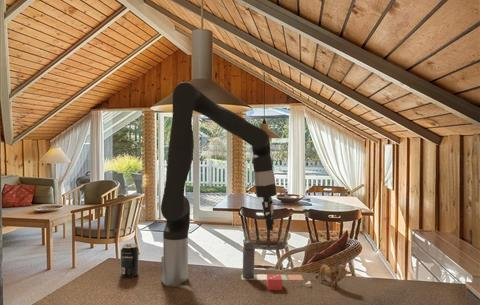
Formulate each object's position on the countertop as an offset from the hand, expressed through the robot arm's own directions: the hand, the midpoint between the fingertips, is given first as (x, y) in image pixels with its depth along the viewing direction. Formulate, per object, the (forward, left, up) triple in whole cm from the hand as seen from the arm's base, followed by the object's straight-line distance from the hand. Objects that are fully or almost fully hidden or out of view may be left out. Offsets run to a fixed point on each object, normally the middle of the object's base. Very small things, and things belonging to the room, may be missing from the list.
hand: (270, 227), depth 133 cm
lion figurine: (+17, +17, -23) cm, 33 cm away
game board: (-3, +7, -22) cm, 23 cm away
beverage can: (-51, -23, -23) cm, 61 cm away
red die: (+3, -1, -22) cm, 22 cm away
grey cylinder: (-11, +1, -21) cm, 23 cm away
